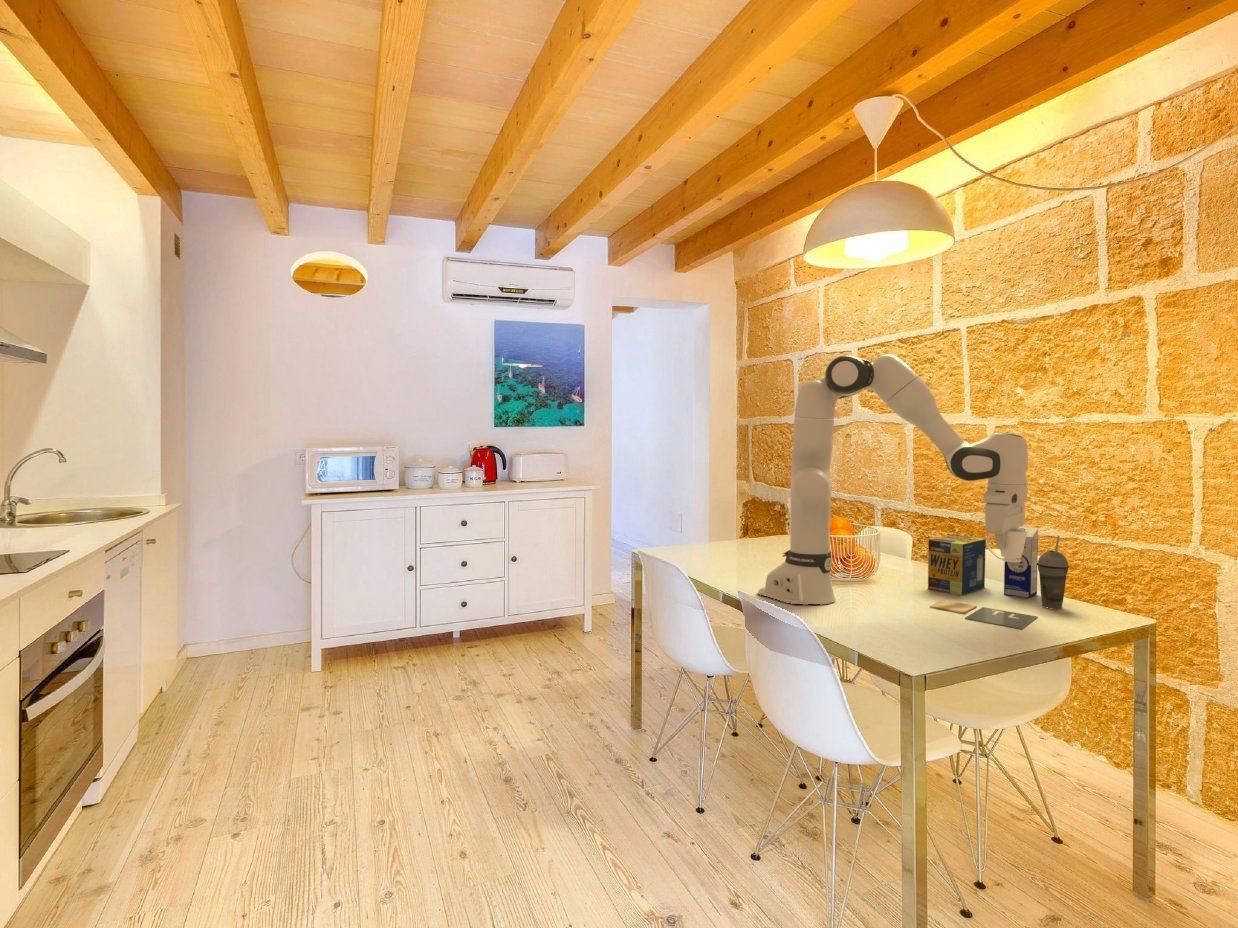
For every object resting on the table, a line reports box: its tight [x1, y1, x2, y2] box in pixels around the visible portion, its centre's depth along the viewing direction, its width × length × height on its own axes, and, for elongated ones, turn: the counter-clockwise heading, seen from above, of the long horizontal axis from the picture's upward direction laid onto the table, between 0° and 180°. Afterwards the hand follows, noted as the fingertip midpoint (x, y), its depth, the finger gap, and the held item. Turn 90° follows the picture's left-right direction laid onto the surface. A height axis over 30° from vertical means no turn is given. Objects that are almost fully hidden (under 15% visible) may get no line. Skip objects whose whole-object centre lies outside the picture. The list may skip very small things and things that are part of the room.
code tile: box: [964, 606, 1039, 630], centre depth 168 cm, size 13×14×1 cm
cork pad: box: [929, 599, 977, 615], centre depth 178 cm, size 9×9×1 cm
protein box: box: [927, 534, 987, 596], centre depth 199 cm, size 10×15×16 cm
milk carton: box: [1003, 526, 1040, 599], centre depth 190 cm, size 7×7×20 cm
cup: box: [985, 529, 1027, 562], centre depth 169 cm, size 7×10×8 cm
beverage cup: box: [1037, 535, 1070, 610], centre depth 177 cm, size 7×7×20 cm
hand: (1005, 546), depth 169 cm, fingers closed on cup, 6 cm apart
